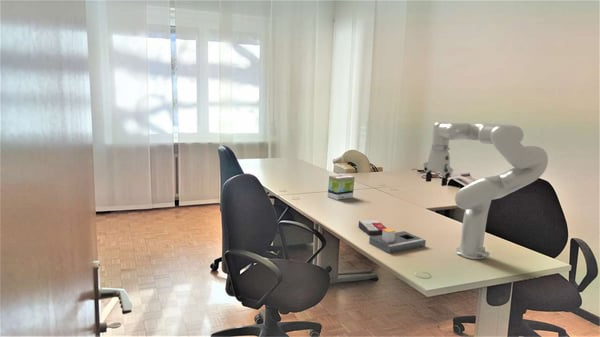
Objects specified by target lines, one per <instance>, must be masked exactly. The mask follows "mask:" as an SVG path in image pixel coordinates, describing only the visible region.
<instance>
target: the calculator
mask: <svg viewBox="0 0 600 337" xmlns="http://www.w3.org/2000/svg"><path fill="white" fill-rule="evenodd" d="M358 228H359V229H360V230H361V231H363V233H364V234H366V235H367V236H370V237H373V236H379V235H382V231H383V229H388V228H387V226H385V225H384V224H383V223H382V222H380V221H379V220H377V219H375V220H374V219H373V220H371V219H370V220H359V221H358Z"/></svg>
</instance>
